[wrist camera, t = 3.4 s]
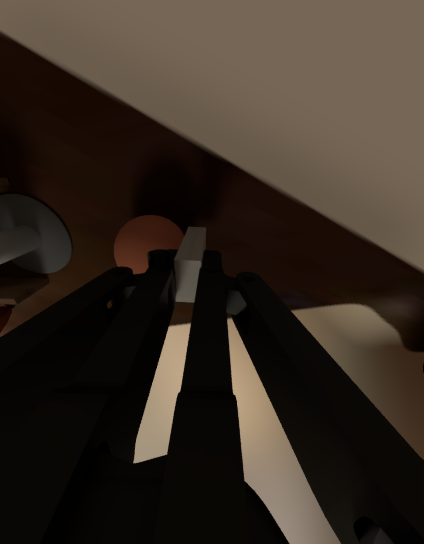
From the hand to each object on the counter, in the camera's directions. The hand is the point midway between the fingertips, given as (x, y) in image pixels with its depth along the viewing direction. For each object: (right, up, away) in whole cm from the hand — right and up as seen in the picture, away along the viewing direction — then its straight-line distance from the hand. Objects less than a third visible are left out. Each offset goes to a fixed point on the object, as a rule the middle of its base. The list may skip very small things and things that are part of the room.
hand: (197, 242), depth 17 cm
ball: (-4, -1, 0) cm, 4 cm away
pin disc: (-17, +1, +3) cm, 17 cm away
